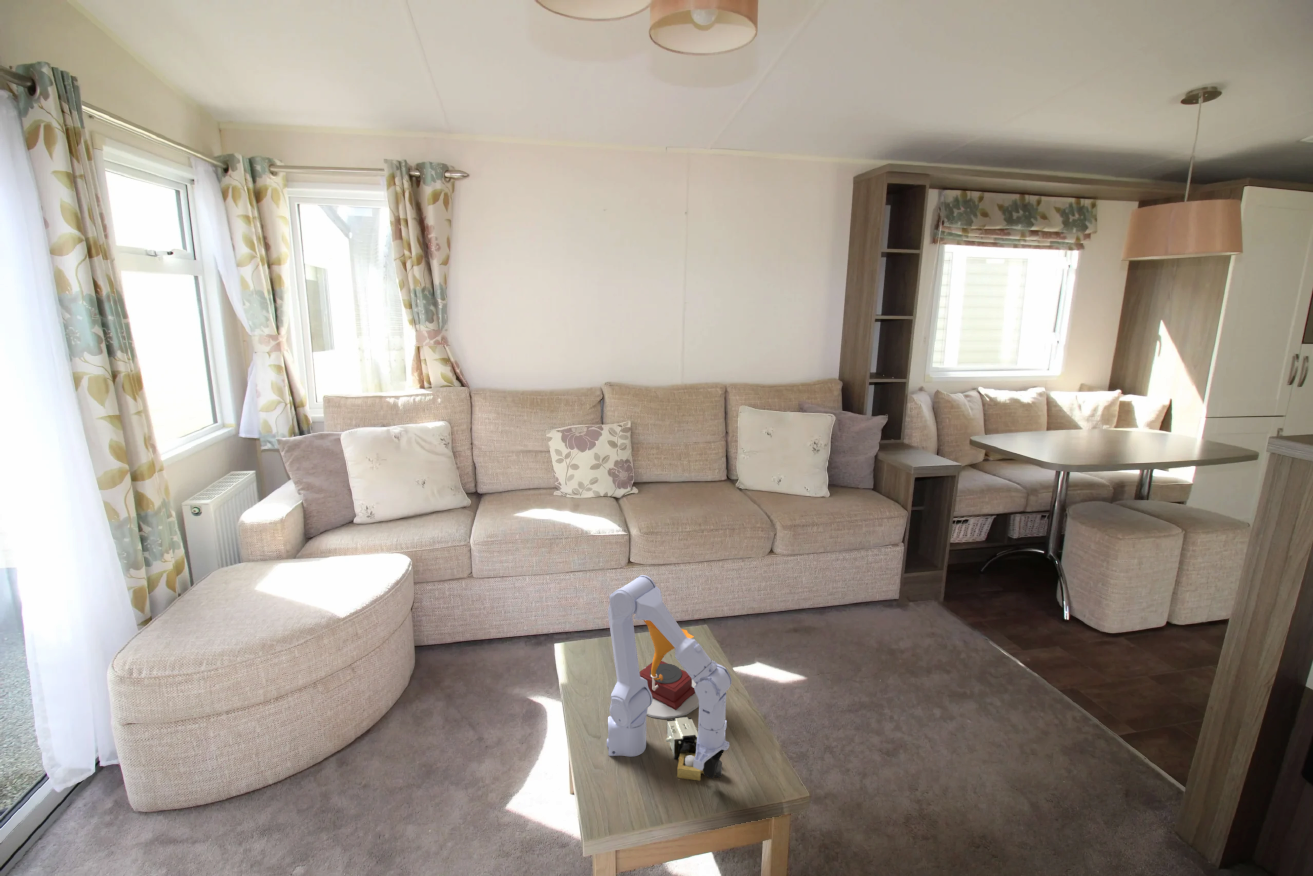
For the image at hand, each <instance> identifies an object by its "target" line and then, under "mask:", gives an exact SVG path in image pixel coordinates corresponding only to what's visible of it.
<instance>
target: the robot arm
mask: <svg viewBox="0 0 1313 876" xmlns="http://www.w3.org/2000/svg"><path fill="white" fill-rule="evenodd" d="M662 595H663V594H662V591H661V589H660V588H659V587H658V586H657V584H656V583H655V581H654V580H653V579H652V578H651V577H650V576H648V575H644V574H641V575H639V576H637V577H636V578H634V579H633V580H632V581H630V582H629V583H627V584H625V585H623V586H622V587H620V588H618V589H616V590H615V591H614V592H612V593H611V594H610V595H609V597H608V599H609V605H608V609H607V614H608V615H607V617H608V622H609V630H610V631H609V632H610V637H611V645H612V653H613V660H614V666H615V675H616V683H615V685H614V687H613V689H612V691H611V694H610V705H609V714H610V715H609V716H608V717H607V730H608V732H607V735H608V736H607V738H606V747H607V748H608V757H614V756H615V757H616V756H625V757H631V758H633V757H637V756H639V755H641V754H643V753H644V752H645V750H646V748H647V715H646V714H647V712H648V707H649V706H650V705H651V704H652V701H653V698H652V694H651V692H650V690H649V688H648V683H647V680H646V679H644V678H642V677H640V665H639V657H638V649H637V642H636V635H635V627H634V626H635V625H634V620H635V621H636V620H637V621H639V620H640V621H643V620H645V621H646V620H650V621H651V622H652V623H653V624H654V625H655V626H656V627H657V628H658V630H659V631H660V632H661V633H662V634H663V635H664V636H665V637H666V638H667V640H668V641H669V642H670V643H671V644H672V645H673V646H674V647H675V648H674V653H675V654H674V658H675V659H676V661H677V662H678V663H679V664H680V665H681V667H682V668H683V669H684V671H686V672H687V673H688V675H689V676H690V677H691V678H692V680H693V681H694V682H695V684H696V686H694V690H695V693H696V695H697V697H698V699H699V707H698V727H697V732H698V736H697V745H696V751H695V752H696V755H695V758H694V765H693V767H694V768H696V769H699V770H703V772H704V774H703V775H704V777H707V778H709V779H714V778H715V776H714V775H715V773H716V770H717V767H718V763H719V760H721V758H722V756H723V754H724V752H725V751H727V750H728V749H729V748H730V741H727V740H726V729H727V725H728V723H727V722H728V721H727V719H726V710H727V709H726V708H727V691H729V689H730V687H731V685H732V682H733V681H732V676H731V675H730V673H729V671H728V669H727V668H726V667H725V666H724V665H722V664H719V663H717V661H715V660H713V659H711V658H710V656H709V655H708V653H706V651H705V650H704V649H703V647H702V645H701V644H700V643H698V641H697V640H696V639H695V638H691V639H690V638H687V637H686V635H685V634H684V632H683V631H682V630H681V629H682V628H681V627H680V625H679V624H678V623H677V621H676V619H675V617H674V616H673V615H672V613H671V612H670V610H669V609H668V607H667V606H666V604H665V602H664V601H663V596H662ZM633 615H634V616H633Z"/></svg>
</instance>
